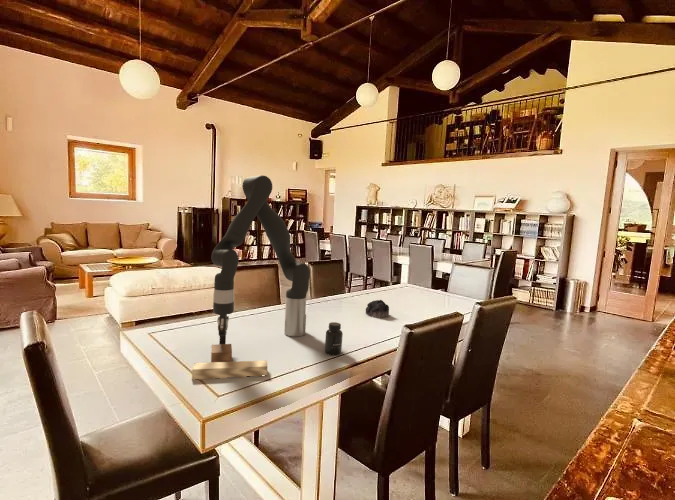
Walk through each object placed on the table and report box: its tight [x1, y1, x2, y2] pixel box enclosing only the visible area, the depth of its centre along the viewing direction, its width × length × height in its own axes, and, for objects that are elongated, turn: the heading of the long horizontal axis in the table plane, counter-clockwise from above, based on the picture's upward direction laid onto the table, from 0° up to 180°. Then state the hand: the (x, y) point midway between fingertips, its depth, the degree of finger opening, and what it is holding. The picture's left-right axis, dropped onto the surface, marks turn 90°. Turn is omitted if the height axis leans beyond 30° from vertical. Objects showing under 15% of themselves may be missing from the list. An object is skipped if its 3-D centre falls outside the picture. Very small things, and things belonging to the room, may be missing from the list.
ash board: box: [191, 359, 268, 381], centre depth 124 cm, size 24×5×4 cm, turn 103°
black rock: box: [365, 299, 390, 318], centre depth 207 cm, size 13×14×10 cm
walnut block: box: [210, 343, 233, 363], centre depth 134 cm, size 7×8×5 cm
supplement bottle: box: [324, 321, 343, 356], centre depth 148 cm, size 7×7×12 cm
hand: (222, 344), depth 141 cm, fingers closed
